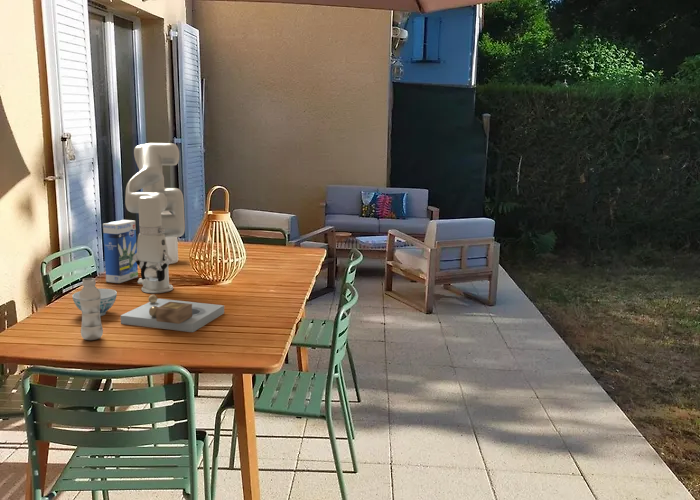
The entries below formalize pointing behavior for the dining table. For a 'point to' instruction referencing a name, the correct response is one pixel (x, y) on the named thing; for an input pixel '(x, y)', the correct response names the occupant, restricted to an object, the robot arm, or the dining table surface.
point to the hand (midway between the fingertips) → (153, 279)
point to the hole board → (199, 318)
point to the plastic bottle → (90, 310)
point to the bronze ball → (153, 311)
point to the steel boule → (151, 273)
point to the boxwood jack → (152, 298)
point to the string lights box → (120, 250)
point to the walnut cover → (174, 312)
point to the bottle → (172, 245)
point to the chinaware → (106, 300)
